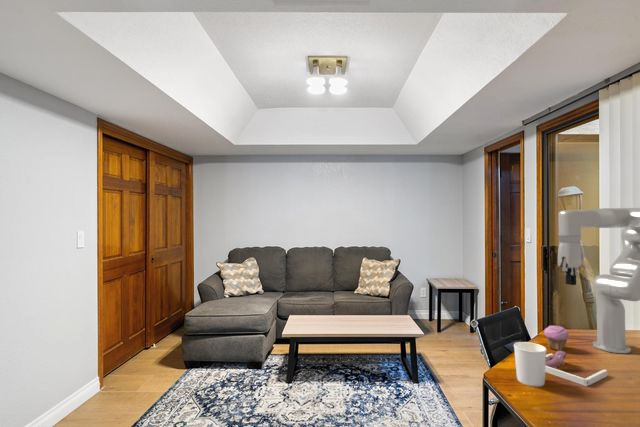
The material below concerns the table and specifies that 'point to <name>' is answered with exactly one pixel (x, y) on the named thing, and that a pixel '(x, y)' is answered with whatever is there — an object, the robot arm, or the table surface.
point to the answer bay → (575, 378)
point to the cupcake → (556, 337)
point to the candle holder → (530, 363)
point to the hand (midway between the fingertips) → (570, 284)
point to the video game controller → (556, 359)
